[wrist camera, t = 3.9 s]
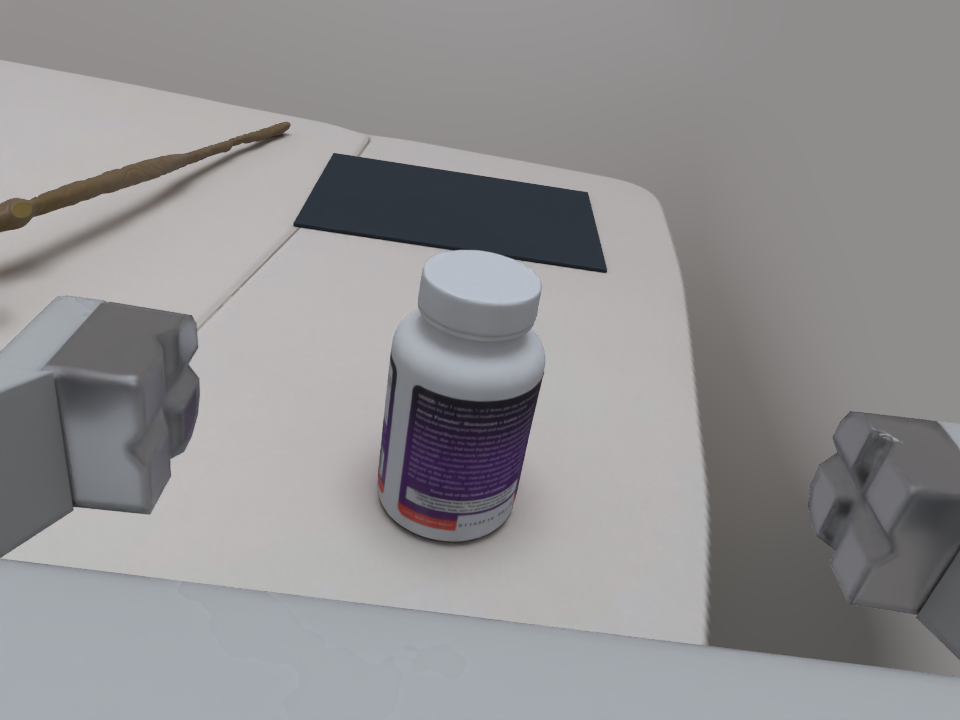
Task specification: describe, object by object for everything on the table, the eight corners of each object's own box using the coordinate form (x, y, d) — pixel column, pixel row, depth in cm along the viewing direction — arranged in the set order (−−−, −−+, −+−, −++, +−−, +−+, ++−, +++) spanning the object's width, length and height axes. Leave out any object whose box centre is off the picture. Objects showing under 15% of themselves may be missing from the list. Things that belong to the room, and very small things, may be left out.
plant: (279, 131, 65) (281, 24, 61) (365, 156, 63) (373, 48, 59) (-282, 337, 33) (-362, 146, 29) (-146, 402, 31) (-212, 206, 27)
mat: (587, 194, 63) (587, 192, 63) (606, 272, 52) (607, 269, 52) (333, 155, 62) (333, 152, 62) (293, 225, 50) (293, 222, 50)
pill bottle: (541, 512, 32) (597, 294, 27) (433, 568, 28) (473, 331, 23) (454, 437, 35) (490, 229, 30) (348, 479, 32) (367, 254, 26)
